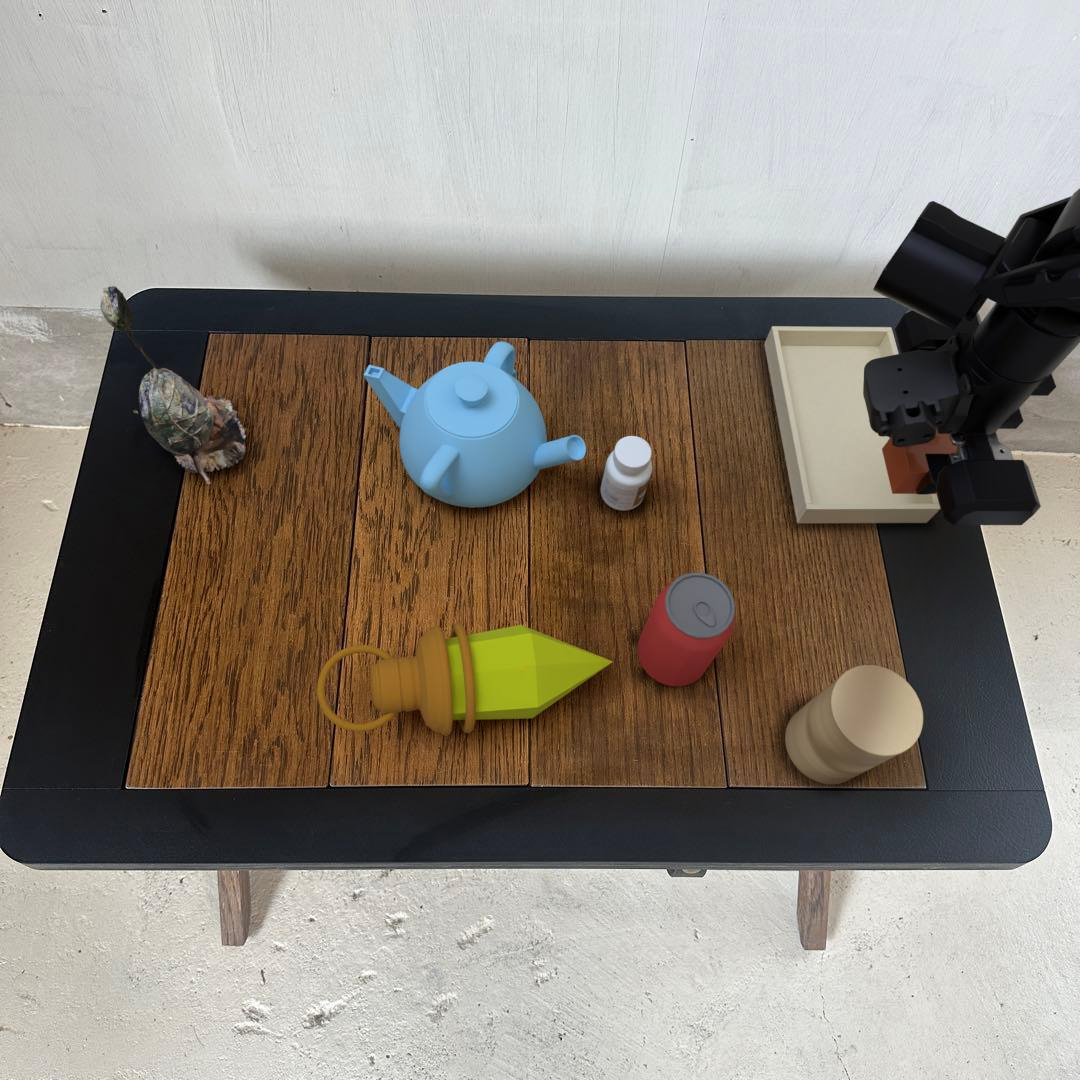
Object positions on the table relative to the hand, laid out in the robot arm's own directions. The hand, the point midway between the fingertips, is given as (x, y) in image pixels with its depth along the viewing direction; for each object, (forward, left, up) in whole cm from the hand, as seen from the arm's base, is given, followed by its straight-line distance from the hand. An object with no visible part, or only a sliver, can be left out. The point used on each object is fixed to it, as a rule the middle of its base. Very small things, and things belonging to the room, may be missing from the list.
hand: (915, 468), depth 72 cm
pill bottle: (+23, +5, -13) cm, 27 cm away
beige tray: (+5, -12, -13) cm, 18 cm away
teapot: (+38, +7, -13) cm, 41 cm away
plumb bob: (+28, +29, -13) cm, 43 cm away
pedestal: (-2, +21, -13) cm, 25 cm away
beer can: (+13, +19, -13) cm, 26 cm away
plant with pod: (+63, +17, -13) cm, 67 cm away
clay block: (0, 0, -1) cm, 0 cm away
